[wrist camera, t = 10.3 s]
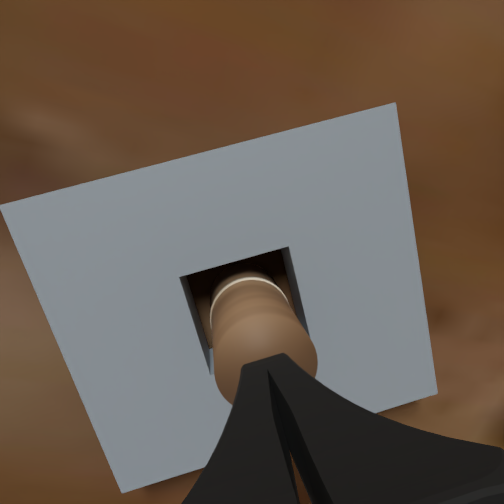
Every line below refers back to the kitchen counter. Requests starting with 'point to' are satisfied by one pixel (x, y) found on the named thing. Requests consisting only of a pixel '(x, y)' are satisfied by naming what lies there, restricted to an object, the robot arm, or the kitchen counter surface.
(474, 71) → the kitchen counter surface
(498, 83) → the kitchen counter surface
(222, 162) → the board
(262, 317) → the peg
